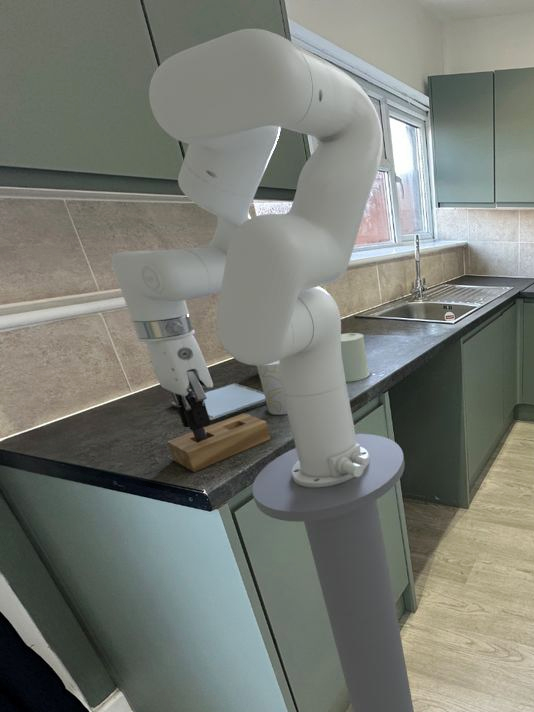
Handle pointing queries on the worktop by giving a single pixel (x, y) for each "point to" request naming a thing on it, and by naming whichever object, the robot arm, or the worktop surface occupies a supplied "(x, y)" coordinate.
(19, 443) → the worktop surface
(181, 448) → the holder
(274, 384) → the cup
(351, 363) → the pale green tapered cylinder
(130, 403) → the worktop surface
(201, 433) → the stylus
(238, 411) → the tablet
